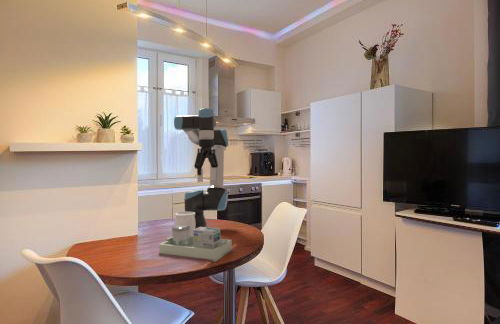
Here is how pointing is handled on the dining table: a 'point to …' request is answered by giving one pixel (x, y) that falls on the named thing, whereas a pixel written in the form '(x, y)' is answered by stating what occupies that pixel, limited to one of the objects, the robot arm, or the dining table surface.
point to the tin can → (181, 236)
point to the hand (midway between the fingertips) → (207, 180)
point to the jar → (186, 220)
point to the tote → (196, 250)
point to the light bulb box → (206, 237)
